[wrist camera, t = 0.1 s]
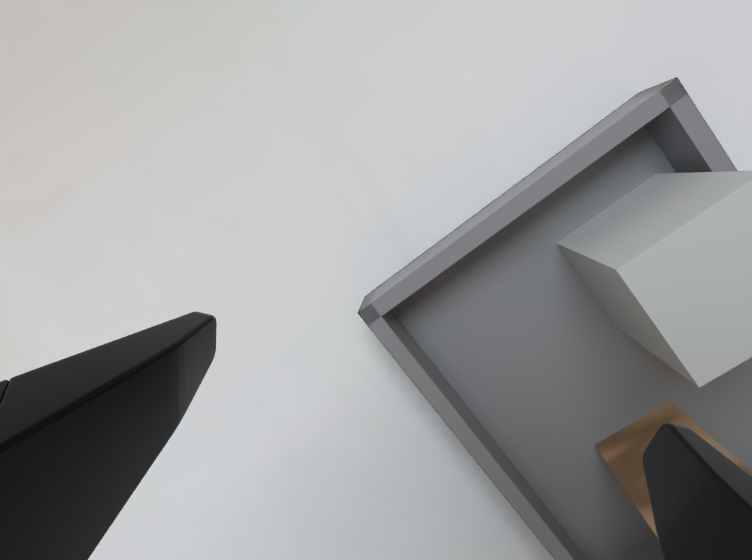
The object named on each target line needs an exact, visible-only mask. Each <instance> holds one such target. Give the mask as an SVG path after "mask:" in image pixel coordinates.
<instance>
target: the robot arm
mask: <svg viewBox="0 0 752 560" xmlns="http://www.w3.org/2000/svg"><path fill="white" fill-rule="evenodd" d="M215 351H216V318H215V317H214V316H213V315H209V314H205V313H201V312H192V313H189V314H186V315H184V316H181V317H178V318H175V319H173V320H170V321H167V322H164V323H162V324H159V325H156V326H153V327H151V328H148V329H145V330H142V331H140V332H137V333H134V334H131V335H128V336H126V337H123V338H120V339H117V340H115V341H112V342H109V343H106V344H104V345H101V346H98V347H95V348H93V349H90V350H87V351H84V352H82V353H79V354H76V355H73V356H70V357H68V358H65V359H62V360H59V361H57V362H54V363H51V364H48V365H46V366H43V367H40V368H37V369H34V370H32V371H29V372H26V373H23V374H21V375H18V376H15V377H13V378H11V379H10V381H8V380H4V381H1V382H0V560H88V558H89V557H90V555H91V554H92V553H93V551H94V550H95V548H96V547H97V545H98V544H99V542H100V541H101V539H102V538H103V536H104V535H105V533H106V532H107V530H108V529H109V527H110V526H111V524H112V523H113V521H114V520H115V519H116V517H117V516H118V514H119V513H120V511H121V510H122V508H123V507H124V505H125V504H126V502H127V501H128V499H129V498H130V496H131V495H132V493H133V492H134V490H135V489H136V487H137V486H138V485H139V483H140V482H141V480H142V479H143V477H144V476H145V474H146V473H147V471H148V470H149V468H150V467H151V465H152V464H153V462H154V461H155V459H156V458H157V456H158V455H159V453H160V452H161V451H162V449H163V448H164V446H165V445H166V443H167V442H168V440H169V439H170V437H171V436H172V434H173V433H174V431H175V430H176V428H177V426H178V425H179V423H180V422H181V420H182V418H183V416H184V414H185V413H186V411H187V409H188V407H189V405H190V403H191V401H192V399H193V397H194V395H195V393H196V391H197V390H198V388H199V386H200V384H201V382H202V380H203V378H204V376H205V374H206V372H207V370H208V368H209V367H210V365H211V363H212V361H213V358H214V355H215ZM642 465H643V470H644V475H645V479H646V484H647V489H648V494H649V499H650V504H651V508H652V513H653V518H654V523H655V528H656V532H657V536H658V540H659V544H660V547H661V551H662V554H663V558H664V560H752V476H750V475H749V474H748V473H746V472H745V471H744V470H743V469H741V468H740V467H739V466H737V465H736V464H735V463H734V462H732V461H731V460H730V459H728V458H727V457H726V456H725V455H723V454H722V453H721V452H719V451H718V450H717V449H715V448H714V447H713V446H712V445H710V444H709V443H708V442H706V441H705V440H704V439H703V438H701V437H700V436H699V435H697V434H696V433H695V432H694V431H692V430H691V429H689V428H687V427H684V426H680V425H675V424H671V423H665V424H663V425H661V426H660V427H659V429H658V430H657V432H656V433H655V435H654V437H653V438H652V440H651V441H650V443H649V444H648V446H647V447H646V449H645V451H644V453H643V457H642Z"/></svg>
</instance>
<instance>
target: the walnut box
mask: <svg viewBox="0 0 752 560" xmlns="http://www.w3.org/2000/svg"><path fill="white" fill-rule="evenodd" d="M665 423H671V424H675V425H680V426H684V427H687V428H689V429H691V430H692V431H694V432H695V433H696V434H697V435H699V436H700V437H701V438H703V439H704V440H705V441H706V442H708V443H709V444H710V445H712V446H713V447H714V448H715V449H717V450H718V451H719V452H721V453H722V454H723V455H725V456H726V457H727V458H728V459H730V460H731V461H732V462H734V463H735V464H736V465H737V466H739V467H740V468H741V469H743V470H744V471H745V472H746V473H748V474H749V475H750V476H752V472H751V471H750V470H749V469H748V468H747V467H746V466H744V465H743V464H742V463H741V462H740V461H739V460H737V459H736V458H735V457H734V456H733V455H732V454H731V453H729V452H728V451H727V450H726V449H725V448H724V447H722V446H721V445H720V444H719V443H718V442H717V441H716V440H714V439H713V438H712V437H711V436H710V435H709V434H708V433H706V432H705V431H704V430H703V429H702V428H701V427H699V426H698V425H697V424H696V423H695V422H694V421H693V420H691V419H690V418H689V417H688V416H687V415H686V414H684V413H683V412H682V411H681V410H680V409H679V408H678V407H676V406H675V405H674V404H673V403H672V402H671V401H669V402H667V403H665V404H663V405H662V406H660V407H658V408H657V409H655V410H653V411H652V412H650V413H648V414H646V415H645V416H643V417H641V418H640V419H638V420H636V421H634V422H633V423H631V424H629V425H628V426H626V427H624V428H623V429H621V430H619V431H617V432H616V433H614V434H612V435H611V436H609V437H607V438H606V439H604V440H602V441H600V442H599V443H597V444H595V446H596V448H597V449H598V451H599V452H600V453H601V455H602V456H603V458H604V459H605V461H606V462H607V464H608V465H609V467H610V468H611V470H612V471H613V473H614V474H615V476H616V477H617V479H618V480H619V482H620V483H621V485H622V486H623V488H624V489H625V490H626V492H627V493H628V495H629V496H630V498H631V499H632V501H633V502H634V504H635V505H636V507H637V508H638V510H639V511H640V513H641V514H642V516H643V517H644V519H645V520H646V522H647V523H648V525H649V526H650V527H651V529H652V530H653V532H654V533H655V535H656V536H657V532H656V528H655V523H654V518H653V513H652V508H651V504H650V499H649V494H648V489H647V484H646V479H645V475H644V470H643V465H642V457H643V453H644V451H645V449H646V447H647V446H648V444H649V443H650V441H651V440H652V438H653V437H654V435H655V433H656V432H657V430H658V429H659V427H660V426H661V425H663V424H665ZM657 538H658V536H657Z"/></svg>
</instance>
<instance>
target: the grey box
mask: <svg viewBox="0 0 752 560" xmlns="http://www.w3.org/2000/svg"><path fill="white" fill-rule="evenodd" d="M557 245H558V246H559V247H560V249H561V250H562V252H563V253H564V254H565V256H566V257H567V259H568V260H569V261H570V263H571V264H572V265H573V267H574V268H575V270H576V271H577V272H578V274H579V275H580V277H581V278H582V279H583V281H584V282H585V284H586V285H587V286H588V288H589V289H590V291H591V292H592V293H593V295H594V296H595V297H596V299H597V300H598V302H599V303H600V304H601V306H602V307H603V309H604V310H605V311H606V313H607V314H608V316H609V317H610V318H611V320H612V321H613V323H614V324H615V325H616V327H617V328H618V329H620V330H621V331H622V332H624V333H625V334H626V335H628V336H629V337H631V338H632V339H633V340H635V341H636V342H637V343H639V344H640V345H642V346H643V347H644V348H646V349H647V350H648V351H650V352H651V353H652V354H654V355H655V356H657V357H658V358H659V359H661V360H662V361H663V362H665V363H666V364H668V365H669V366H670V367H672V368H673V369H674V370H676V371H677V372H678V373H680V374H681V375H683V376H684V377H685V378H687V379H688V380H689V381H691V382H692V383H694V384H695V385H696V386H698V387H699V388H700V387H702V386H703V385H705V384H707V383H708V382H710V381H712V380H713V379H715V378H717V377H719V376H720V375H722V374H724V373H725V372H727V371H729V370H731V369H732V368H734V367H736V366H737V365H739V364H741V363H743V362H744V361H746V360H748V359H749V358H751V357H752V171H726V172H693V173H661V174H655V175H653V176H652V177H651V178H649V179H648V180H646V181H645V182H643V183H642V184H641V185H639V186H638V187H636V188H635V189H633V190H632V191H631V192H629V193H628V194H626V195H625V196H623V197H622V198H621V199H619V200H618V201H616V202H615V203H613V204H612V205H611V206H609V207H608V208H606V209H605V210H603V211H602V212H600V213H599V214H598V215H596V216H595V217H593V218H592V219H590V220H589V221H588V222H586V223H585V224H583V225H582V226H580V227H579V228H578V229H576V230H575V231H573V232H572V233H570V234H569V235H568V236H566V237H565V238H563V239H562V240H560V241H559V242H558V243H557Z"/></svg>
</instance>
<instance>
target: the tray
mask: <svg viewBox="0 0 752 560" xmlns="http://www.w3.org/2000/svg"><path fill="white" fill-rule="evenodd" d="M726 171H737V169H736V167H735V166H734V164H733V163H732V161H731V160H730V158H729V157H728V155H727V154H726V152H725V150H724V149H723V147H722V146H721V144H720V143H719V141H718V140H717V138H716V136H715V135H714V133H713V132H712V130H711V129H710V127H709V126H708V124H707V123H706V121H705V119H704V118H703V116H702V115H701V113H700V112H699V110H698V109H697V107H696V106H695V104H694V102H693V101H692V99H691V98H690V96H689V95H688V93H687V92H686V90H685V89H684V87H683V85H682V84H681V82H680V81H679V79H678V78H677V77H676V78H674V79H671V80H669V81H666V82H664V83H661V84H659V85H656V86H654V87H651V88H649V89H646V90H644V91H641V92H639V93H638V94H636V95H635V96H634V97H632V98H631V99H630V100H628V101H627V102H626V103H624V104H623V105H622V106H620V107H619V108H618V109H616V110H615V111H614V112H612V113H611V114H610V115H608V116H607V117H606V118H604V119H603V120H601V121H600V122H599V123H597V124H596V125H595V126H593V127H592V128H591V129H589V130H588V131H587V132H585V133H584V134H583V135H581V136H580V137H579V138H577V139H576V140H575V141H573V142H572V143H571V144H569V145H568V146H567V147H565V148H564V149H563V150H561V151H560V152H558V153H557V154H556V155H554V156H553V157H552V158H550V159H549V160H548V161H546V162H545V163H544V164H542V165H541V166H540V167H538V168H537V169H536V170H534V171H533V172H532V173H530V174H529V175H528V176H526V177H525V178H524V179H522V180H521V181H520V182H518V183H517V184H515V185H514V186H513V187H511V188H510V189H509V190H507V191H506V192H505V193H503V194H502V195H501V196H499V197H498V198H497V199H495V200H494V201H493V202H491V203H490V204H489V205H487V206H486V207H485V208H483V209H482V210H481V211H479V212H478V213H477V214H475V215H474V216H472V217H471V218H470V219H468V220H467V221H466V222H464V223H463V224H462V225H460V226H459V227H458V228H456V229H455V230H454V231H452V232H451V233H450V234H448V235H447V236H446V237H444V238H443V239H442V240H440V241H439V242H438V243H436V244H435V245H434V246H432V247H431V248H429V249H428V250H427V251H425V252H424V253H423V254H421V255H420V256H419V257H417V258H416V259H415V260H413V261H412V262H411V263H409V264H408V265H407V266H405V267H404V268H403V269H401V270H400V271H399V272H397V273H396V274H395V275H393V276H392V277H391V278H389V279H388V280H387V281H385V282H384V283H382V284H381V285H380V286H378V287H377V288H376V289H374V290H373V291H372V292H370V293H369V294H368V295H366V296H365V298H364V300H363V302H362V304H361V307H360V309H359V311H358V314H359V315H360V317H361V318H362V319H363V320H364V322H365V323H366V324H367V325H368V327H369V328H370V329H371V330H372V332H373V333H374V334H375V335H376V337H377V338H378V339H379V340H380V342H381V343H382V344H383V345H384V347H385V348H386V349H387V350H388V352H389V353H390V354H391V355H392V357H393V358H394V359H395V360H396V362H397V363H398V364H399V365H400V367H401V368H402V369H403V370H404V372H405V373H406V374H407V375H408V377H409V378H410V379H411V380H412V382H413V383H414V384H415V385H416V387H417V388H418V389H419V390H420V392H421V393H422V394H423V395H424V397H425V398H426V399H427V400H428V402H429V403H430V404H431V405H432V407H433V408H434V409H435V410H436V412H437V413H438V414H439V415H440V417H441V418H442V419H443V420H444V422H445V423H446V424H447V425H448V427H449V428H450V429H451V430H452V432H453V433H454V434H455V435H456V437H457V438H458V439H459V440H460V442H461V443H462V444H463V445H464V447H465V448H466V449H467V450H468V452H469V453H470V454H471V455H472V457H473V458H474V459H475V460H476V462H477V463H478V464H479V465H480V467H481V468H482V469H483V470H484V472H485V473H486V474H487V475H488V477H489V478H490V479H491V480H492V482H493V483H494V484H495V485H496V487H497V488H498V489H499V490H500V492H501V493H502V494H503V495H504V497H505V498H506V499H507V500H508V502H509V503H510V504H511V505H512V507H513V508H514V509H515V510H516V512H517V513H518V514H519V515H520V517H521V518H522V519H523V520H524V522H525V523H526V524H527V525H528V527H529V528H530V529H531V530H532V532H533V533H534V534H535V535H536V537H537V538H538V539H539V540H540V542H541V543H542V544H543V545H544V547H545V548H546V549H547V550H548V552H549V553H550V554H551V555H552V557H553V558H554V559H555V560H664V558H663V554H662V551H661V547H660V544H659V540H658V538H657V536H656V535H655V533H654V532H653V530H652V529H651V527H650V526H649V525H648V523H647V522H646V520H645V519H644V517H643V516H642V514H641V513H640V511H639V510H638V508H637V507H636V505H635V504H634V502H633V501H632V499H631V498H630V496H629V495H628V493H627V492H626V490H625V489H624V488H623V486H622V485H621V483H620V482H619V480H618V479H617V477H616V476H615V474H614V473H613V471H612V470H611V468H610V467H609V465H608V464H607V462H606V461H605V459H604V458H603V456H602V455H601V453H600V452H599V451H598V449H597V448H596V446H595V444H597V443H599V442H600V441H602V440H604V439H606V438H607V437H609V436H611V435H612V434H614V433H616V432H617V431H619V430H621V429H623V428H624V427H626V426H628V425H629V424H631V423H633V422H634V421H636V420H638V419H640V418H641V417H643V416H645V415H646V414H648V413H650V412H652V411H653V410H655V409H657V408H658V407H660V406H662V405H663V404H665V403H667V402H669V401H671V402H672V403H673V404H674V405H675V406H676V407H678V408H679V409H680V410H681V411H682V412H683V413H684V414H686V415H687V416H688V417H689V418H690V419H691V420H693V421H694V422H695V423H696V424H697V425H698V426H699V427H701V428H702V429H703V430H704V431H705V432H706V433H708V434H709V435H710V436H711V437H712V438H713V439H714V440H716V441H717V442H718V443H719V444H720V445H721V446H722V447H724V448H725V449H726V450H727V451H728V452H729V453H731V454H732V455H733V456H734V457H735V458H736V459H737V460H739V461H740V462H741V463H742V464H743V465H744V466H746V467H747V468H748V469H749V470H750V471H751V472H752V357H751V358H749V359H748V360H746V361H744V362H743V363H741V364H739V365H737V366H736V367H734V368H732V369H731V370H729V371H727V372H725V373H724V374H722V375H720V376H719V377H717V378H715V379H713V380H712V381H710V382H708V383H707V384H705V385H703V386H702V387H700V388H699V387H698V386H696V385H695V384H694V383H692V382H691V381H689V380H688V379H687V378H685V377H684V376H683V375H681V374H680V373H678V372H677V371H676V370H674V369H673V368H672V367H670V366H669V365H668V364H666V363H665V362H663V361H662V360H661V359H659V358H658V357H657V356H655V355H654V354H652V353H651V352H650V351H648V350H647V349H646V348H644V347H643V346H642V345H640V344H639V343H637V342H636V341H635V340H633V339H632V338H631V337H629V336H628V335H626V334H625V333H624V332H622V331H621V330H620V329H618V328H617V327H616V325H615V324H614V323H613V321H612V320H611V318H610V317H609V316H608V314H607V313H606V311H605V310H604V309H603V307H602V306H601V304H600V303H599V302H598V300H597V299H596V297H595V296H594V295H593V293H592V292H591V291H590V289H589V288H588V286H587V285H586V284H585V282H584V281H583V279H582V278H581V277H580V275H579V274H578V272H577V271H576V270H575V268H574V267H573V265H572V264H571V263H570V261H569V260H568V259H567V257H566V256H565V254H564V253H563V252H562V250H561V249H560V247H559V246H558V245H557V243H558V242H559V241H560V240H562V239H563V238H565V237H566V236H568V235H569V234H570V233H572V232H573V231H575V230H576V229H578V228H579V227H580V226H582V225H583V224H585V223H586V222H588V221H589V220H590V219H592V218H593V217H595V216H596V215H598V214H599V213H600V212H602V211H603V210H605V209H606V208H608V207H609V206H611V205H612V204H613V203H615V202H616V201H618V200H619V199H621V198H622V197H623V196H625V195H626V194H628V193H629V192H631V191H632V190H633V189H635V188H636V187H638V186H639V185H641V184H642V183H643V182H645V181H646V180H648V179H649V178H651V177H652V176H653V175H655V174H661V173H693V172H726Z"/></svg>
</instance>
